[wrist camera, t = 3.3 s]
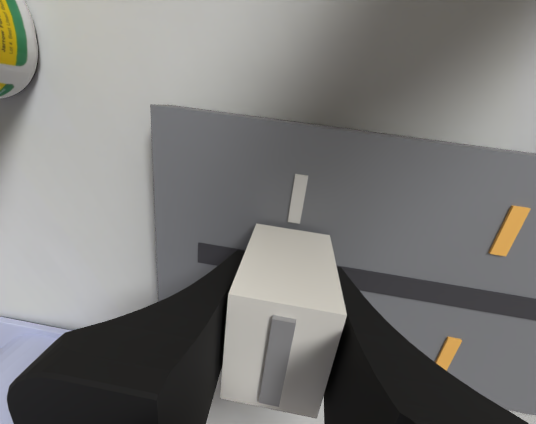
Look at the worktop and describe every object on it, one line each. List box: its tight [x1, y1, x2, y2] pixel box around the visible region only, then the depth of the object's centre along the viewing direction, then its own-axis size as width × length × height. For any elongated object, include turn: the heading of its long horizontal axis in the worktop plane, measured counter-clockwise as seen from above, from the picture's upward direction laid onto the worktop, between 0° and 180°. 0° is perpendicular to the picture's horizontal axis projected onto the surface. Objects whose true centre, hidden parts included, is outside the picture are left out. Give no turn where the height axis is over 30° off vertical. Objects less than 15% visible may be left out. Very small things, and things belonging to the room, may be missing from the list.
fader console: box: [150, 105, 536, 415], centre depth 12 cm, size 12×22×2 cm, turn 83°
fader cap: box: [220, 223, 347, 418], centre depth 10 cm, size 4×3×5 cm
